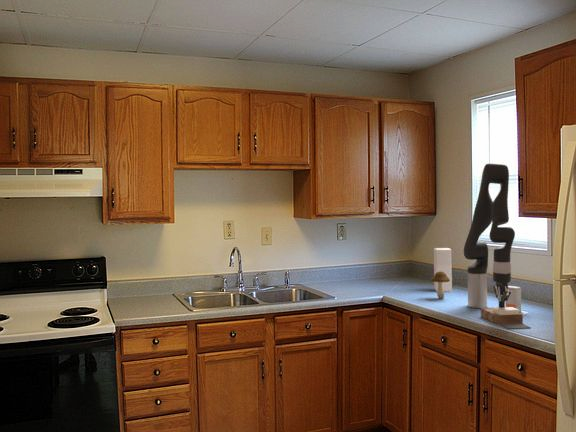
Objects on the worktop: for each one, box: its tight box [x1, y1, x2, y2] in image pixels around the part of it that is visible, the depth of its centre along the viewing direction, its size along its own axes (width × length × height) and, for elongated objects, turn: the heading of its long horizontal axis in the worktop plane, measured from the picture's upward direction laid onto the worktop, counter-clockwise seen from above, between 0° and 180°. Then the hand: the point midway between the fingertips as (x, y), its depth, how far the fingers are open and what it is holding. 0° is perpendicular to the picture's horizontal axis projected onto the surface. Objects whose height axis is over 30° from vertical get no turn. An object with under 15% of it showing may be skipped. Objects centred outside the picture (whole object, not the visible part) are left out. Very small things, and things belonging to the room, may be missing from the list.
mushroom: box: [429, 272, 450, 300], centre depth 303 cm, size 9×11×15 cm
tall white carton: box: [433, 247, 453, 293], centre depth 328 cm, size 9×9×25 cm
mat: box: [498, 323, 531, 330], centre depth 238 cm, size 8×10×1 cm
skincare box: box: [505, 285, 522, 313], centre depth 267 cm, size 6×4×12 cm
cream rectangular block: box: [492, 306, 520, 315], centre depth 246 cm, size 6×9×2 cm, turn 94°
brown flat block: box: [480, 306, 524, 325], centre depth 250 cm, size 16×12×4 cm
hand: (501, 308), depth 250 cm, fingers closed
